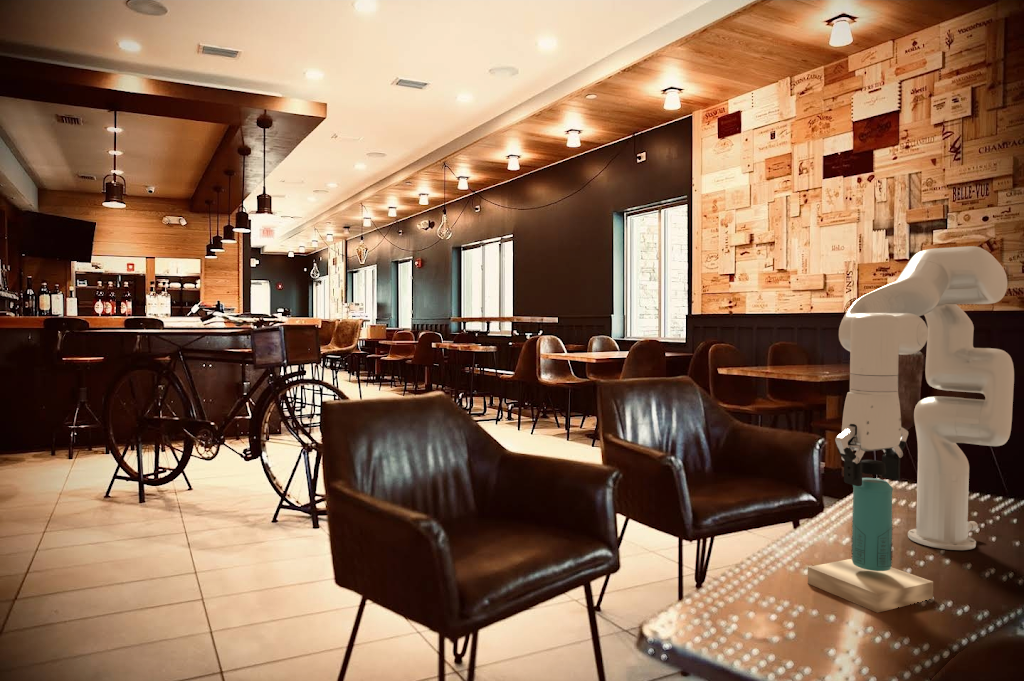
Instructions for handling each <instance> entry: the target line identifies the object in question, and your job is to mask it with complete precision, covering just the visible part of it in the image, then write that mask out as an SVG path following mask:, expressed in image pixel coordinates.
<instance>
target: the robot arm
mask: <svg viewBox="0 0 1024 681" xmlns="http://www.w3.org/2000/svg"><path fill="white" fill-rule="evenodd" d="M1006 273H1007V272H1006V271H1005V269H1004V267H1003V266H1002V264H1001V263H1000V262H999V260H997V259H996V258H995V256H993V255H992V253H990V252H989V251H988V250H986V249H984V248H982V247H979V246H969V245H968V246H955V247H954V246H953V247H952V246H951V247H939V248H938V247H936V248H928V249H923V250H920V251H918V252H917V253H915V254H914V255H913V256H912V257H911V258H910V260H908V262H907V264H906V265H905V267H903V270H902V271H901V273H900V274H899V276H898V277H897V278H896V280H895V281H894V282H891V283H889V284H886V285H883V286H881V287H879V288H877V289H875V290H873V291H871V292H869V293H866V294H864V295H862V296H861V297H859V298H857V299H856V300H855V301H853V303H852V304H851V306H850V307H849V308H848V309H847V311H846V312H845V314H844V316H843V318H842V319H841V322H840V323H839V324H840V325H839V328H838V341H839V342H840V345H841V346H842V348H844V349H845V350H846V351H848V352H849V353H850V355H849V358H850V360H849V391H848V392H847V393H846V397H845V401H844V406H843V411H842V423H841V424H842V425H841V433H839V434H838V435H837V436H836V437H835V439H834V440H835V444H836V447H837V451H838V453H839V455H840V456H841V460H842V461H844V462H843V482H844V484H846V485H847V484H848V485H851V486H853V485H855V486H861V485H862V478H863V473H862V463H861V461H862V458H863V457H864V454H865V453H866V452H875V451H880V450H881V451H883V453H884V454H882V455H881V461H882V462H884V463H885V469H886V474H885V475H881V477H882V478H884V479H888V480H894V481H899V480H900V479H901V458H902V457H903V456H904V453H903V451H904V449H905V448H906V442H907V439H908V436H909V431H908V430H907V429H906V428H904V427H903V426H902V416H901V414H902V413H901V404H900V398H899V397H900V396H899V359H900V358H899V357H900V356H901V355H903V356H907V355H912V354H915V353H918V352H919V351H921V350H922V349H923V347H925V345H926V354H925V355H926V357H925V373H924V374H925V380H926V383H927V384H928V386H929V387H932V388H934V389H937V390H942V391H947V392H949V391H952V392H963V393H965V392H966V393H977V394H982V395H983V396H984V397H985V398H984V399H980V398H979V399H978V398H977V399H976V398H964V397H957V396H956V397H955V396H944V395H943V396H942V395H941V396H937V395H935V396H927V397H924V398H922V399H920V400H919V401H918V402H917V404H915V408H914V411H913V422H914V426H915V433H916V441H917V478H916V479H917V482H916V484H917V485H916V516H915V517H916V520H915V521H916V523H915V528H912V529H909V530H908V531H907V537H908V539H909V540H910V541H912V542H915V543H917V544H919V545H924V546H927V547H931V548H935V549H941V550H949V551H969V550H973V549H975V548H976V546H977V541H976V540H975V539H974V538H973V537H971V536H969V532H970V531H976V530H978V528H979V524H978V523H977V522H976V521H975V520H970V521H969V519H968V518H969V491H970V490H969V486H970V485H969V484H970V483H969V481H970V480H969V479H970V463H969V460H968V458H967V456H966V454H965V453H964V451H963V450H962V449H961V448H960V447H959V444H970V445H979V446H988V447H1000V446H1003V445H1005V444H1007V442H1008V440H1009V439H1010V436H1011V431H1012V422H1013V408H1014V407H1013V404H1014V403H1013V402H1014V388H1015V387H1014V386H1015V385H1014V384H1015V368H1014V362H1013V359H1012V357H1011V355H1010V354H1009V353H1008V352H1006V351H1005V350H1003V349H1000V348H991V347H974V330H975V327H974V324H973V321H972V320H971V318H970V317H969V316H968V314H967V313H966V312H965V311H964V310H963V309H962V307H960V306H959V305H991V304H995V303H998V302H1000V301H1001V300H1002V299H1003V298H1004V297H1005V295H1006V292H1007V289H1008V277H1007V274H1006ZM921 316H924V318H925V321H924V320H923V318H922V317H921ZM899 355H900V356H899ZM854 451H856V452H855V453H854Z"/></svg>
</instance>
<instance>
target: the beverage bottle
mask: <svg viewBox="0 0 1024 681" xmlns="http://www.w3.org/2000/svg"><path fill="white" fill-rule="evenodd" d="M860 463H862V474H866V475H872V476H882V475H885V474H886V469H885V463H884V462H882V460H877V459H876V460H875V459H861V460H860ZM852 488H853V489H852V490H853V491H852V492H853V493H852V520H851V532H850V533H851V538H850V540H851V541H850V542H851V544H850V545H851V546H850V548H851V549H850V553H851V559H852V561H853V564H854V565H856V566H858V567H860V568H863V569H867V570H873V571H887V570H890V569H891V567H892V566H893V562H894V560H893V558H894V555H893V554H894V551H893V550H894V547H893V545H894V542H893V539H894V535H893V534H894V531H893V530H894V528H893V526H894V525H893V524H894V523H893V518H894V517H893V490H894V489H893V487H892V486H891V484H890V483H888V481H886V480H885V479H880V478H875V477H874V478H873V477H862V485H861V486H855V485H852Z"/></svg>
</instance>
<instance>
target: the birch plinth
mask: <svg viewBox="0 0 1024 681" xmlns="http://www.w3.org/2000/svg"><path fill="white" fill-rule="evenodd" d="M807 584H808V585H810V586H813V587H815V588H818V589H820V590H823V591H825V592H827V593H830V594H831V595H835V596H837V597H839V598H842V599H844V600H846V601H849V602H851V603H853V604H856V605H858V606H860V607H862V608H865V609H868V610H870V611H873V612H875V613H881V612H886V611H890V610H893V609H897V608H898V607H899V608H902V607H905V606H910V604H911V605H914V603H915V604H918V603H917V602H919V603H922V601H923V602H926V601H925V600H927V601H930V600H929V599H931V600H934V581H933V580H930V579H926V578H923V577H920V576H918V575H916V574H912V573H909V572H906V571H904V570H901V569H898V568H895V567H892V566H891V569H890V570H887V571H873V570H867V569H863V568H860V567H858V566H856V565H854V564H853V561H852V558H847V559H842V560H837V561H831V562H828V563H822V564H816V565H812V566H811V565H810V566H808V567H807Z"/></svg>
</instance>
